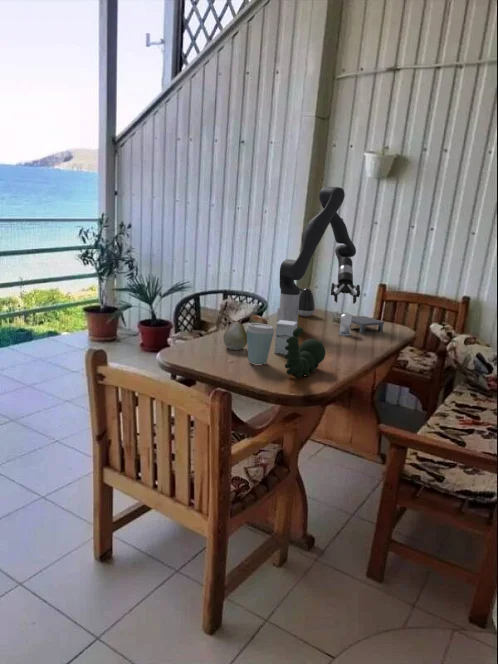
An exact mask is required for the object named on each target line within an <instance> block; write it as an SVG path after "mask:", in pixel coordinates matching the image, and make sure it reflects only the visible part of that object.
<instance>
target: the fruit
mask: <svg viewBox="0 0 498 664" xmlns="http://www.w3.org/2000/svg"><path fill="white" fill-rule="evenodd" d="M242 321H243V319H239V321H236V320H235V321H234V322H233V323H232V324H231V325H230V326H229V327H228V328H226V330H225V332H224V334H223V343H224V346H225V347H226V348H227V349H228V348H229V349H228V350H232V349H234V350H233V351H239V350H242V349H244V348H245V347H246V346H248V345H247V331H246V329H245V327H244V325H243V324H242Z"/></svg>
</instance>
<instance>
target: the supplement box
mask: <svg viewBox="0 0 498 664" xmlns="http://www.w3.org/2000/svg"><path fill="white" fill-rule="evenodd" d="M275 327H276V328H275V340H274V351H273V353H274V354H278V353H280V354H279V355H285V354H287V353H288V350H285V347H286V346H288V343H287V342H286V340H287V339H289V337H291V336H293V331H294V330H295V328H297V327H298V322H293V321H285V320H280V321H279V322H277V321H276V326H275Z"/></svg>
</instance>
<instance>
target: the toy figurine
mask: <svg viewBox="0 0 498 664" xmlns="http://www.w3.org/2000/svg"><path fill="white" fill-rule="evenodd" d="M302 333H304V328H303V327H301V326H297V328H295V330H294V331H293V336H291V337H289V339H287V340H286V342H287V343H288V346H286V347H285V350H288V353H287V354H284V359H287V360H286V361H287V362H286V363H285V364H284V368H285V369H286V374H287V375H289V376H291V375H292V373H294V374H293V375H296V377H298V378H302V376H303V375H306V376H308V377H309V376H310V372H313V373H315V371H316V369H317V368H318V367H319V364H321V363H322V361H323V360H325V358H326V357H325V356H326V348H325V345H324V344H323V341H322V340H318V339H315V338H308V339H305V340H304V341H303V342H302V343H301V344H300V345H299V337H300V336H301V334H302Z"/></svg>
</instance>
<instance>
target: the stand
mask: <svg viewBox="0 0 498 664" xmlns="http://www.w3.org/2000/svg"><path fill="white" fill-rule="evenodd" d="M351 324H354V325H356V326H360V327H359V334H361V335H364V334H365V331H366V327H370V326H378V327H377V332H379V333H383V329H384V324H385V321H383V320H379V319H375V318H373V317H369V316H365V315H361V316H352V320H351Z"/></svg>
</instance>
